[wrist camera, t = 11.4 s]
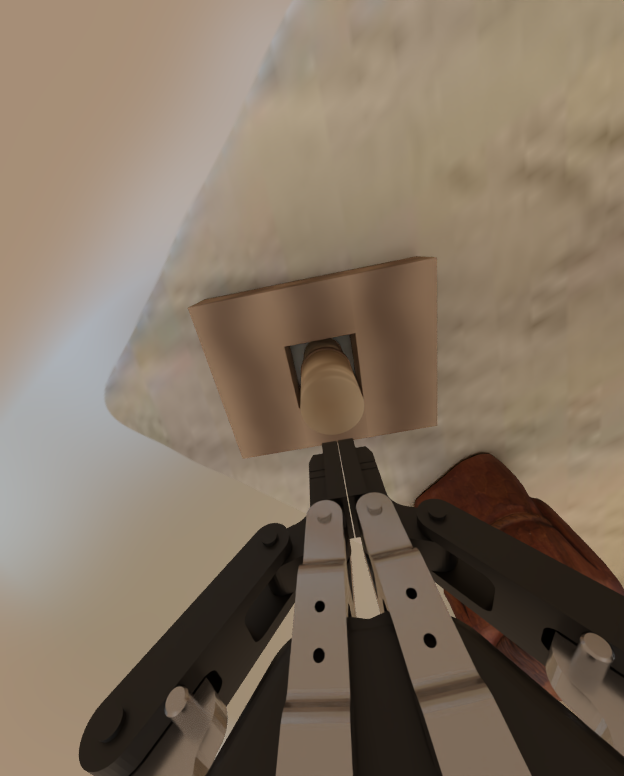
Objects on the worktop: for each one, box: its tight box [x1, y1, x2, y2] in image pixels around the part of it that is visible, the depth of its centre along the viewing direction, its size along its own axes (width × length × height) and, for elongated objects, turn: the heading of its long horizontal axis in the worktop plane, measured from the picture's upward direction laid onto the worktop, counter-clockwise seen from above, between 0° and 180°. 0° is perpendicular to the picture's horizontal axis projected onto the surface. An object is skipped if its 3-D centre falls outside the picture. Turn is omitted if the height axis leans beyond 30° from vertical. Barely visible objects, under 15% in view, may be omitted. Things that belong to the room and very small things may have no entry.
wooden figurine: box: [415, 454, 624, 701], centre depth 27 cm, size 12×6×18 cm, turn 142°
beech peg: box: [300, 338, 364, 435], centre depth 23 cm, size 4×4×10 cm
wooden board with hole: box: [188, 256, 437, 458], centre depth 25 cm, size 18×14×4 cm
